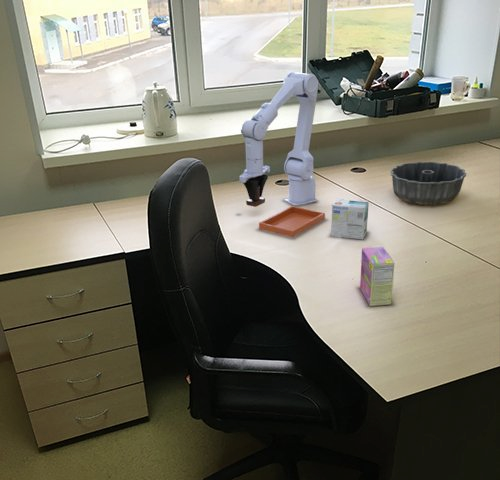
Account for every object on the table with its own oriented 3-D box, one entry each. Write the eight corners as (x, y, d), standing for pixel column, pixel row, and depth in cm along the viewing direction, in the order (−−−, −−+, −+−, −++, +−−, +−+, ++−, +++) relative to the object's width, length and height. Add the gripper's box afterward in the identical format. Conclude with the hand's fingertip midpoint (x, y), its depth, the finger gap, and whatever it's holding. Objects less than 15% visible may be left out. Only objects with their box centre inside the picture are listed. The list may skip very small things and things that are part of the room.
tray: (292, 212, 209) (292, 205, 207) (324, 220, 201) (325, 213, 200) (259, 230, 195) (258, 222, 194) (292, 238, 188) (292, 231, 187)
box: (359, 288, 158) (361, 247, 151) (379, 286, 158) (383, 246, 152) (368, 306, 149) (372, 264, 143) (391, 305, 149) (395, 262, 143)
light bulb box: (367, 232, 191) (369, 200, 185) (363, 240, 185) (366, 207, 180) (334, 229, 194) (336, 197, 188) (330, 236, 188) (331, 204, 183)
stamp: (256, 200, 206) (255, 182, 203) (265, 202, 204) (264, 184, 201) (246, 205, 202) (245, 187, 199) (255, 207, 200) (254, 189, 197)
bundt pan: (381, 206, 211) (384, 178, 206) (395, 184, 232) (397, 158, 226) (458, 213, 202) (462, 185, 197) (465, 190, 223) (469, 163, 217)
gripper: (257, 151, 202) (258, 190, 209) (231, 161, 192) (233, 201, 199) (274, 154, 198) (275, 193, 205) (248, 164, 188) (249, 205, 195)
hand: (255, 197), depth 202 cm, fingers closed on stamp, 3 cm apart
